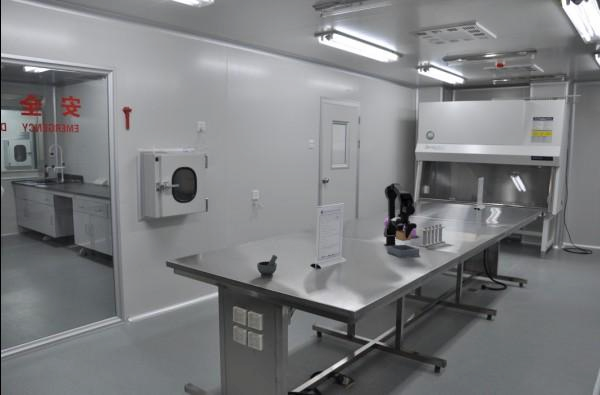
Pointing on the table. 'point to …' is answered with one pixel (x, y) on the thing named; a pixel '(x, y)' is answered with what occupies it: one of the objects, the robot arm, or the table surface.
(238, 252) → the table surface
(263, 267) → the mortar and pestle
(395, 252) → the large crate
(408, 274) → the table surface
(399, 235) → the small crate
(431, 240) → the test tube rack
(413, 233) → the container set
